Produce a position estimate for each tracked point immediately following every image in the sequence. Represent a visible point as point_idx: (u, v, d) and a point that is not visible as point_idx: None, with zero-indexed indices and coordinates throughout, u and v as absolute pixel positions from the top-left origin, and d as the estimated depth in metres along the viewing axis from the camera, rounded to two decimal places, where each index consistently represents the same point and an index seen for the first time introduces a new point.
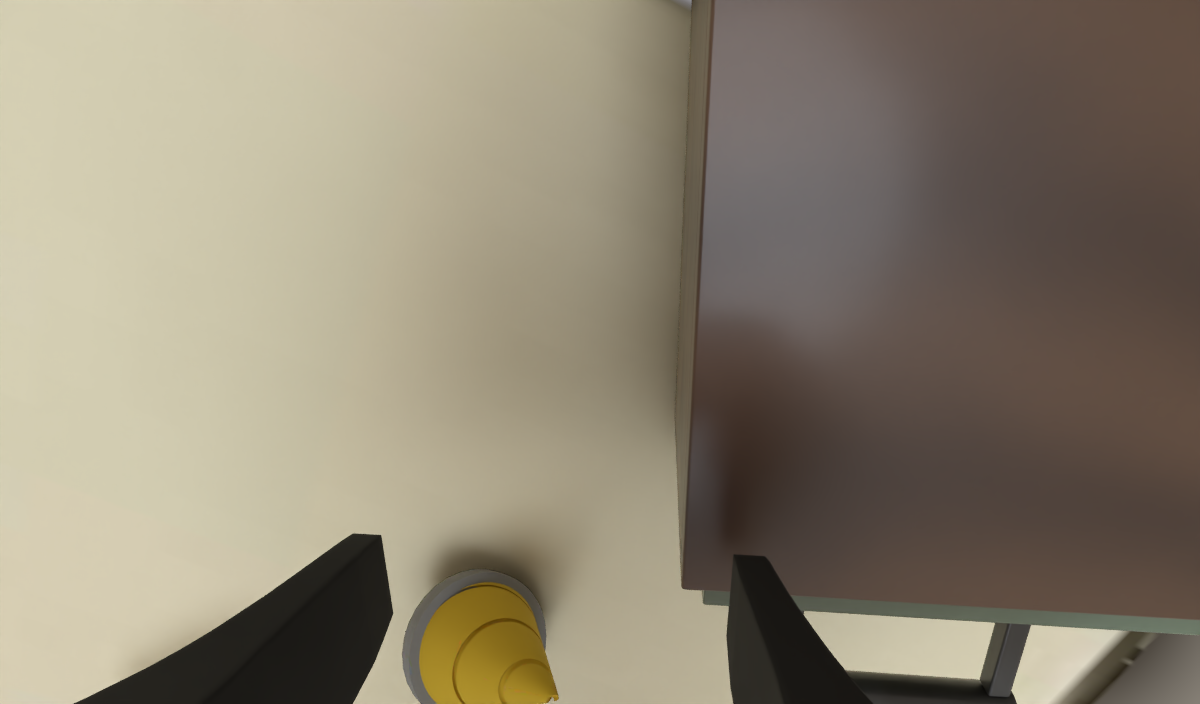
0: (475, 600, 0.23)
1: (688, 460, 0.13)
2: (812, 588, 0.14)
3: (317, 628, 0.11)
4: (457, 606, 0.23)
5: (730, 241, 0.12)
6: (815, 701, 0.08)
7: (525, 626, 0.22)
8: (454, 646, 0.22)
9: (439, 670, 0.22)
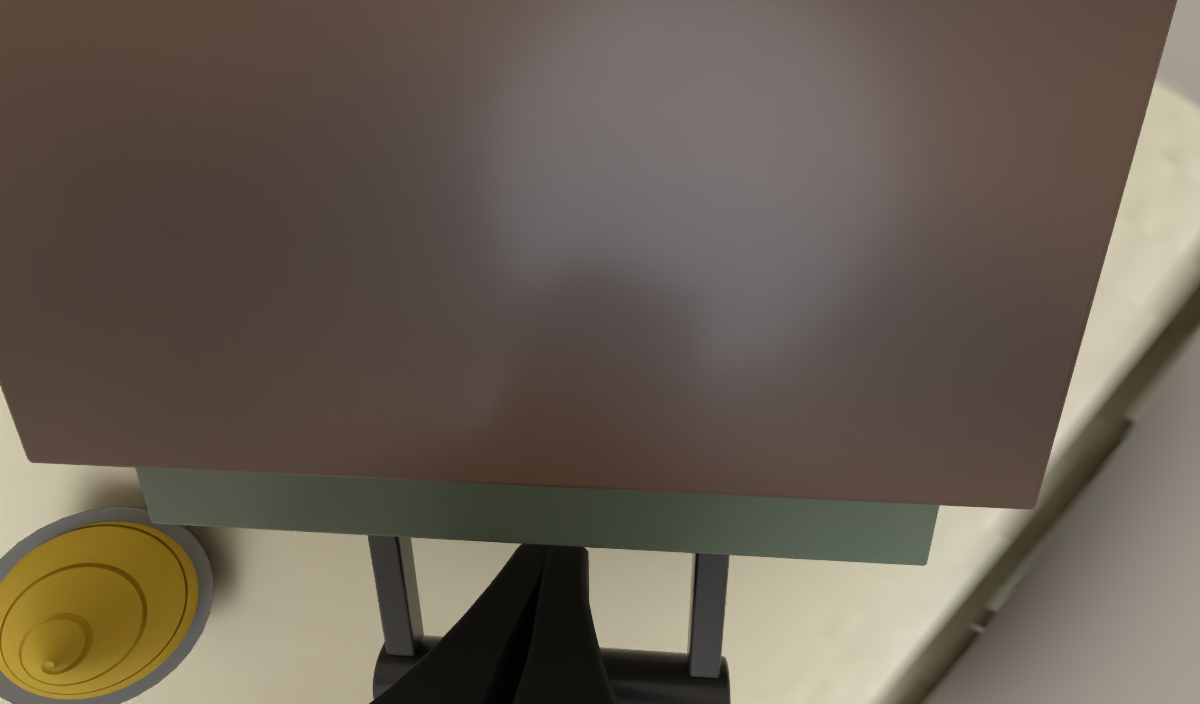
0: (74, 541, 0.17)
1: None
2: (228, 455, 0.08)
3: (522, 642, 0.10)
4: (47, 549, 0.17)
5: None
6: (551, 681, 0.09)
7: (118, 574, 0.16)
8: (9, 601, 0.15)
9: None
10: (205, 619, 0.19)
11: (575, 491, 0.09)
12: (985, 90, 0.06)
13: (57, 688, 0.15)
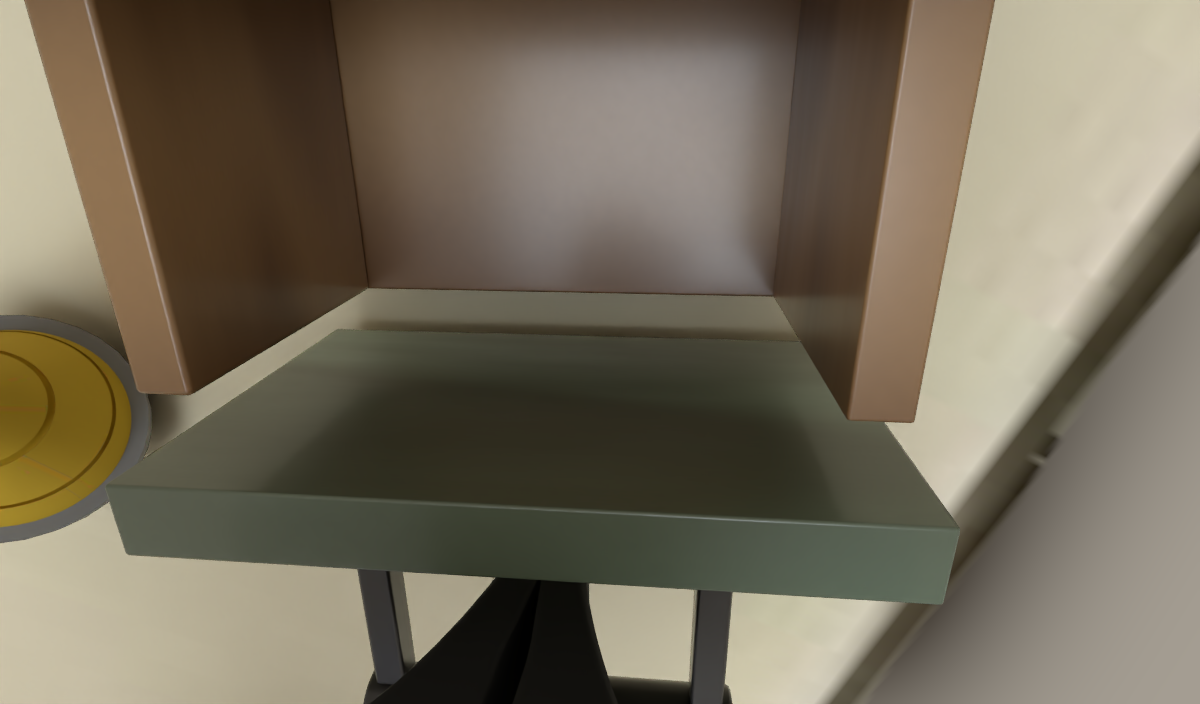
0: None
1: None
2: None
3: (522, 642, 0.10)
4: None
5: None
6: (551, 681, 0.09)
7: (19, 361, 0.13)
8: None
9: None
10: (139, 453, 0.16)
11: (571, 525, 0.08)
12: None
13: None
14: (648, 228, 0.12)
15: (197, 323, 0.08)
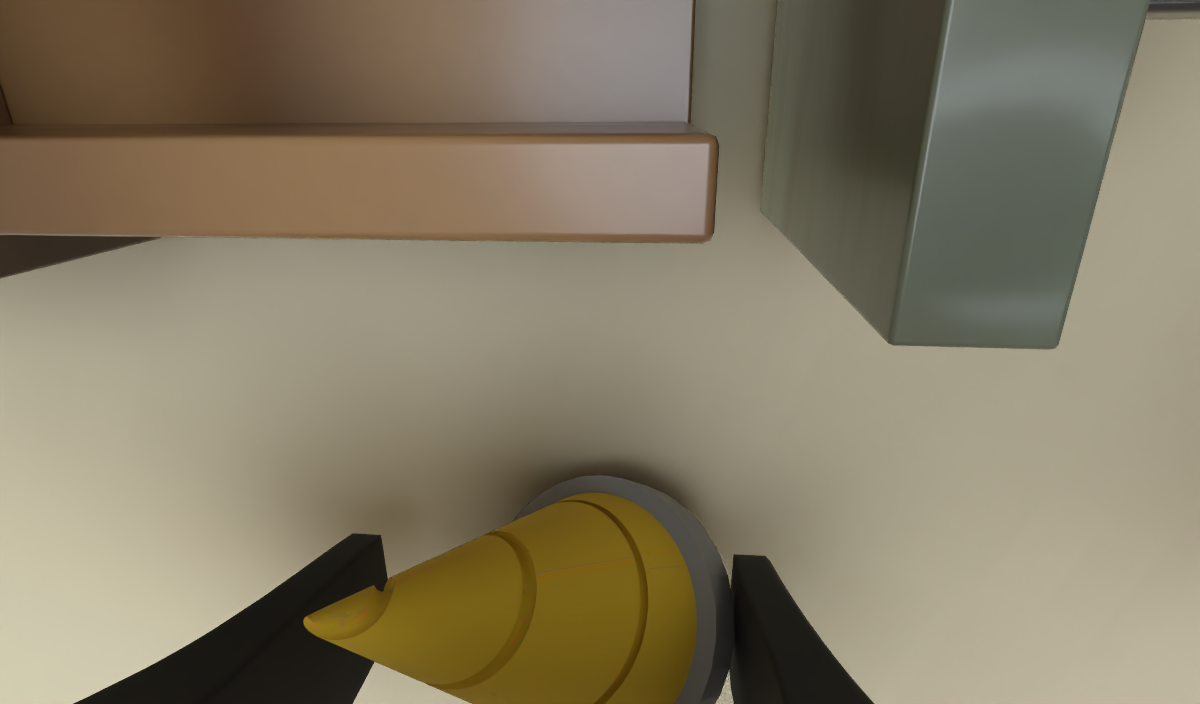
0: None
1: None
2: None
3: None
4: None
5: None
6: (815, 701, 0.08)
7: None
8: None
9: None
10: (651, 494, 0.12)
11: None
12: None
13: (542, 669, 0.09)
14: None
15: (599, 131, 0.05)
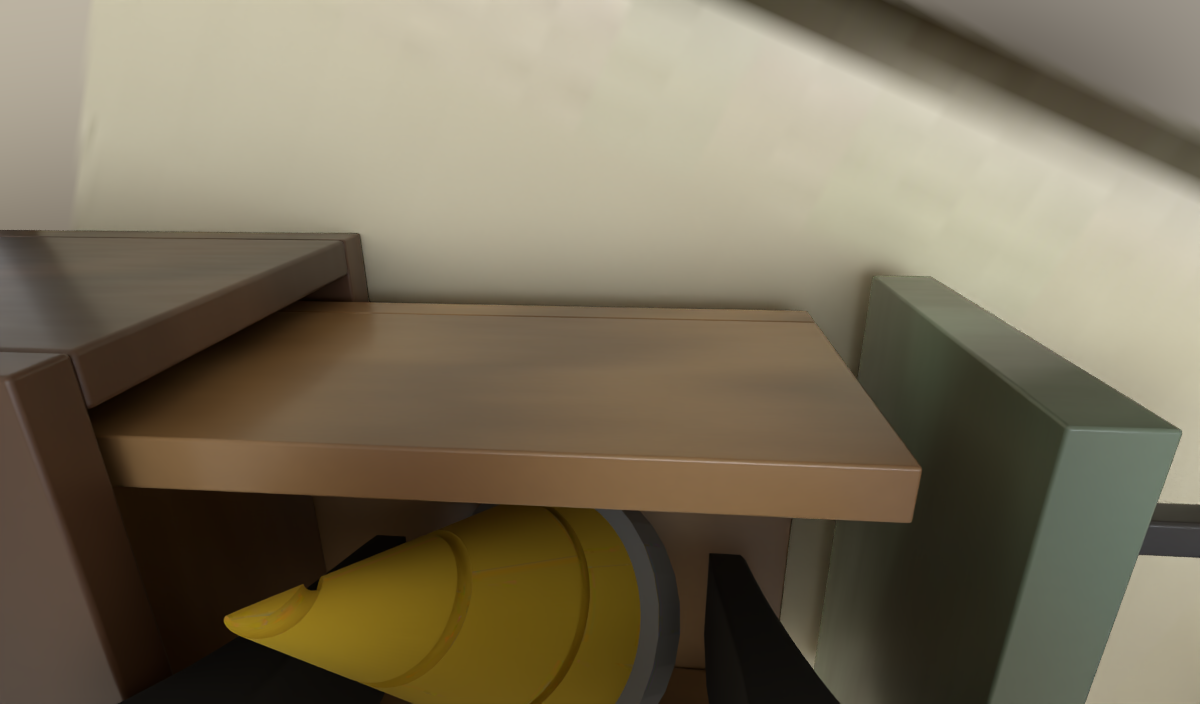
0: None
1: None
2: None
3: None
4: None
5: None
6: (779, 699, 0.08)
7: None
8: None
9: None
10: None
11: None
12: None
13: (477, 667, 0.09)
14: None
15: None
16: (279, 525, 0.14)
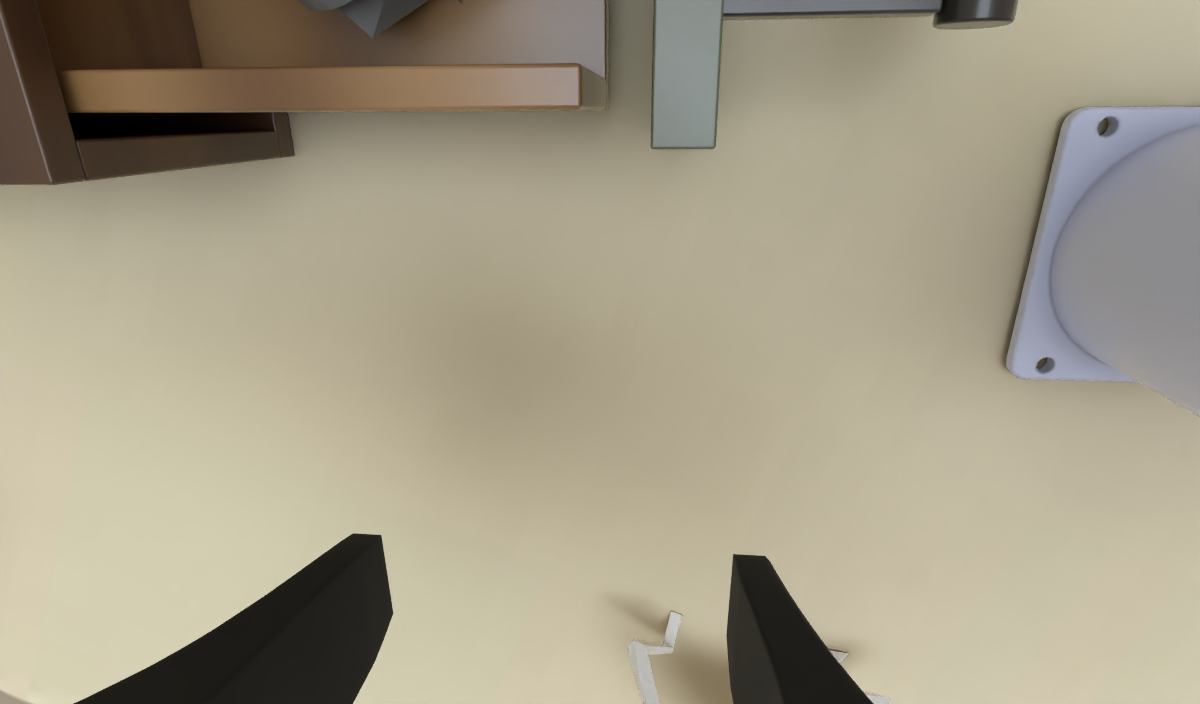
0: None
1: None
2: None
3: (317, 628, 0.11)
4: None
5: None
6: (815, 701, 0.08)
7: None
8: None
9: None
10: None
11: None
12: None
13: None
14: None
15: None
16: None
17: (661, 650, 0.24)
